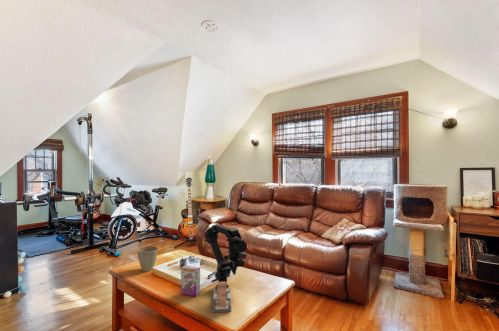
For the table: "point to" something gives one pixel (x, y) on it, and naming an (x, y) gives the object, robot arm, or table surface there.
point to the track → (227, 300)
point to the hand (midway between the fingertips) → (234, 274)
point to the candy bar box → (190, 280)
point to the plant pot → (147, 257)
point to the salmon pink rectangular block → (221, 296)
